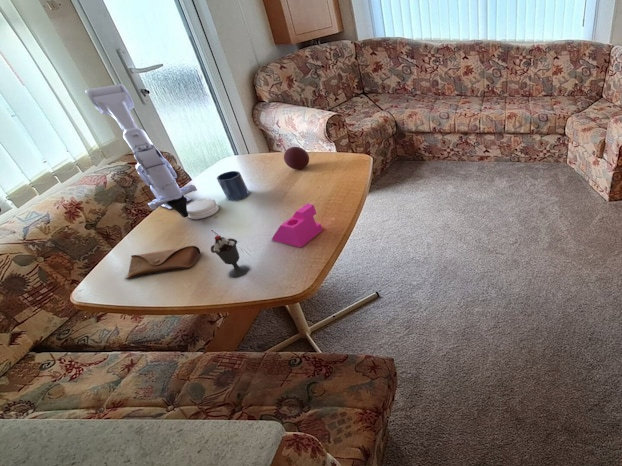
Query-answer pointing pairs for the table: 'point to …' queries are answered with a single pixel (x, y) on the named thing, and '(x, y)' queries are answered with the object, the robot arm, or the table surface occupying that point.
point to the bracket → (299, 227)
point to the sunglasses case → (163, 261)
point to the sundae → (228, 254)
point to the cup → (233, 185)
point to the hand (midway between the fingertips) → (185, 216)
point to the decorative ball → (296, 158)
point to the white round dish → (202, 208)
